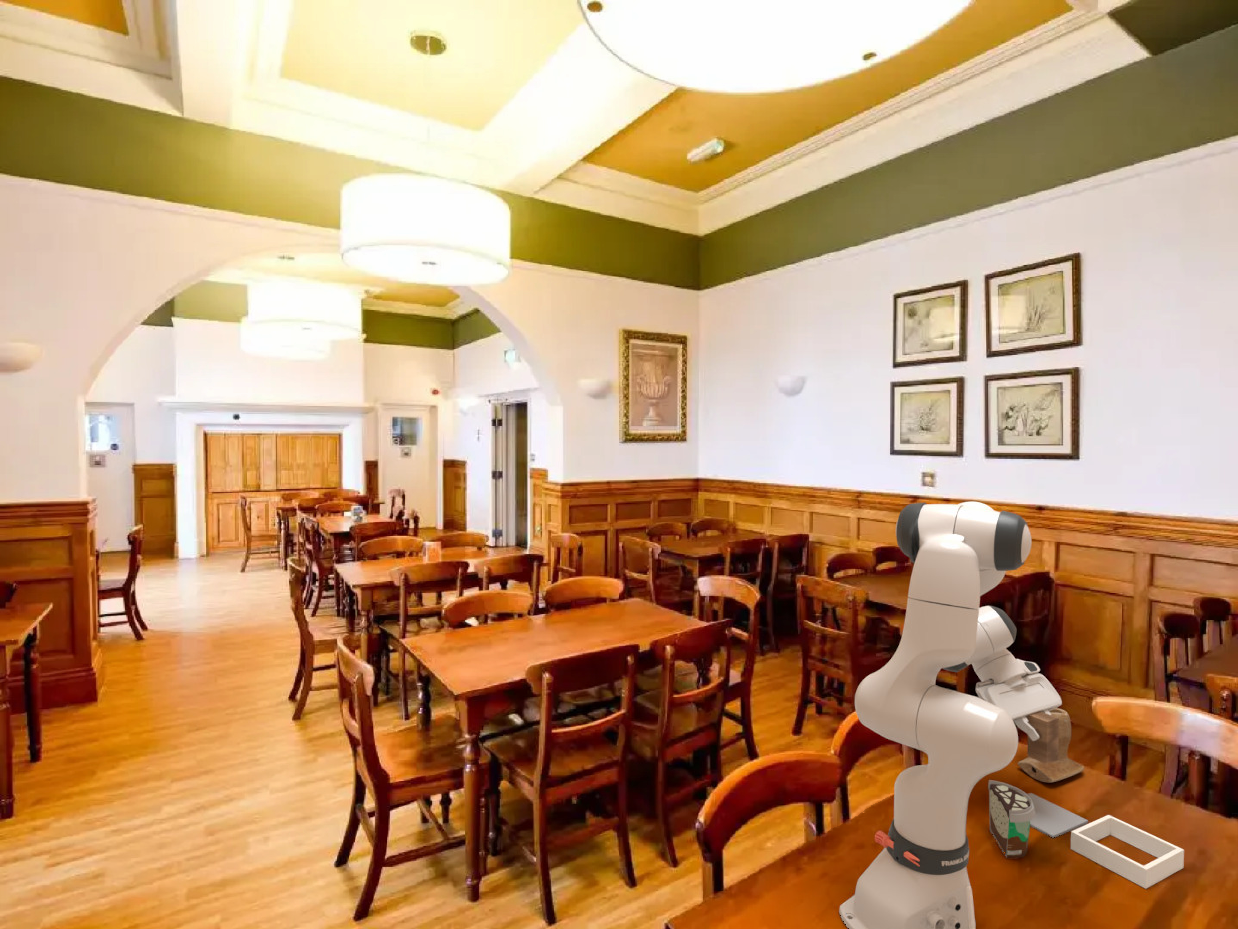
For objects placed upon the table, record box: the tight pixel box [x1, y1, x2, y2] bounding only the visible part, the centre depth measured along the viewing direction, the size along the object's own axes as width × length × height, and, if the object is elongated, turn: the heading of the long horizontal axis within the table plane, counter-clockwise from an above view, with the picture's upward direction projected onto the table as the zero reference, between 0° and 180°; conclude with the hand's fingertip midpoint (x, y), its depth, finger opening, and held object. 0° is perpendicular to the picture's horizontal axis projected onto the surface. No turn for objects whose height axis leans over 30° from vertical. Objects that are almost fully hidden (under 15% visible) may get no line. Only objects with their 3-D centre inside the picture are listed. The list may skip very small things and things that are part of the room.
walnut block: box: [1026, 711, 1059, 764], centre depth 141 cm, size 4×4×9 cm
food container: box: [987, 779, 1035, 860], centre depth 131 cm, size 12×6×10 cm, turn 168°
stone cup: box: [1017, 707, 1085, 784], centre depth 160 cm, size 15×12×15 cm
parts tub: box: [1070, 814, 1185, 889], centre depth 127 cm, size 13×13×4 cm
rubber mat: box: [1026, 792, 1089, 839], centre depth 141 cm, size 12×12×1 cm
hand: (1046, 736), depth 140 cm, fingers closed on walnut block, 4 cm apart
